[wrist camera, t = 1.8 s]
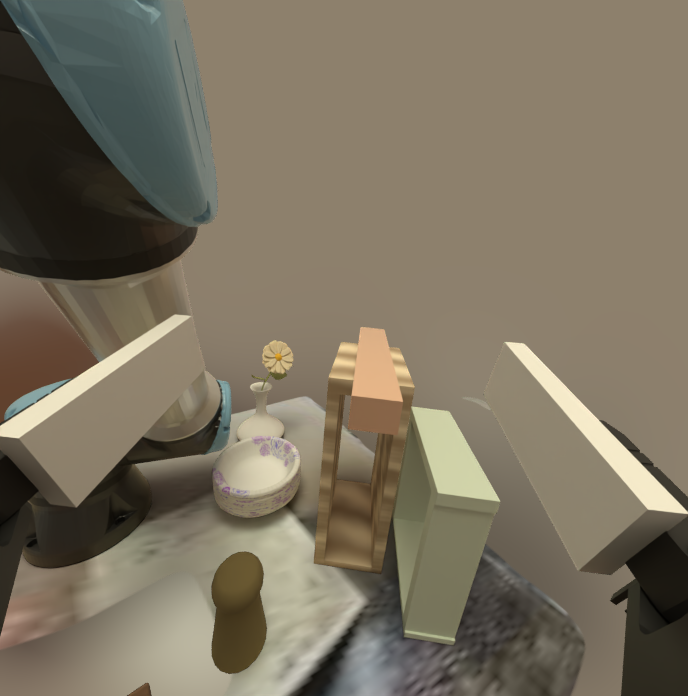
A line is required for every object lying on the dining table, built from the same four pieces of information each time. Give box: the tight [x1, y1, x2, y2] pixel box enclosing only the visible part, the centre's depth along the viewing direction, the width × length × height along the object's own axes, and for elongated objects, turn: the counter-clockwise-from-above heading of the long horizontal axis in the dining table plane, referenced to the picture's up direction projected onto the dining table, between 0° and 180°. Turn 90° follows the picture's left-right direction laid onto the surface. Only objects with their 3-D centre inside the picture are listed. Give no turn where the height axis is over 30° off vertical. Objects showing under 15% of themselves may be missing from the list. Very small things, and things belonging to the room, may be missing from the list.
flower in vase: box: [237, 340, 294, 441], centre depth 64 cm, size 13×11×25 cm
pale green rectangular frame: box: [392, 407, 500, 645], centre depth 38 cm, size 18×6×22 cm, turn 175°
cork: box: [212, 552, 267, 674], centre depth 30 cm, size 6×6×11 cm
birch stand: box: [314, 342, 415, 574], centre depth 43 cm, size 16×10×30 cm, turn 175°
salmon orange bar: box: [348, 327, 403, 435], centre depth 34 cm, size 26×4×3 cm, turn 175°
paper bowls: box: [212, 436, 301, 518], centre depth 50 cm, size 15×15×8 cm
